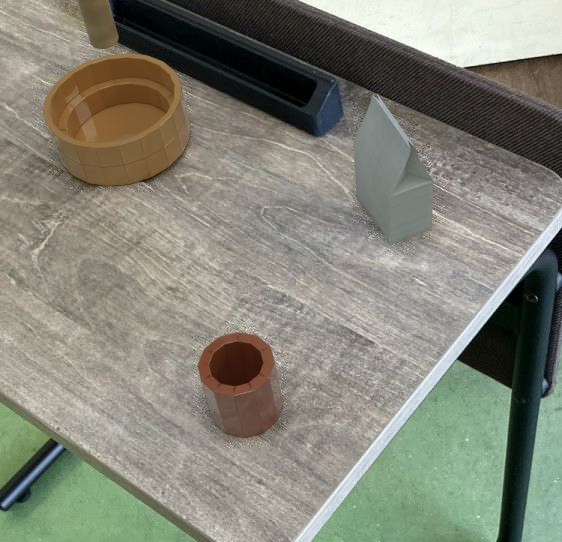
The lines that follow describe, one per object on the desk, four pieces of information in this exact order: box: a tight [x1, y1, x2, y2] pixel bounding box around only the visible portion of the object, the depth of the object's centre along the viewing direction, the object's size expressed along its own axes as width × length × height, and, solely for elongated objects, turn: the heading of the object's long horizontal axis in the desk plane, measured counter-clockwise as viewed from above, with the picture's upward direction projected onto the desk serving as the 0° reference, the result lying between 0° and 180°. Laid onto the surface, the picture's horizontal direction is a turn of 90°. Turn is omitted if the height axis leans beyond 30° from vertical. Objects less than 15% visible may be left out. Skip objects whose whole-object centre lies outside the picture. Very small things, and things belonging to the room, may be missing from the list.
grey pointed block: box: [353, 93, 435, 246], centre depth 75 cm, size 4×7×10 cm, turn 21°
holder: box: [197, 331, 284, 438], centre depth 68 cm, size 5×5×6 cm
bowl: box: [42, 52, 191, 187], centre depth 86 cm, size 12×12×5 cm
